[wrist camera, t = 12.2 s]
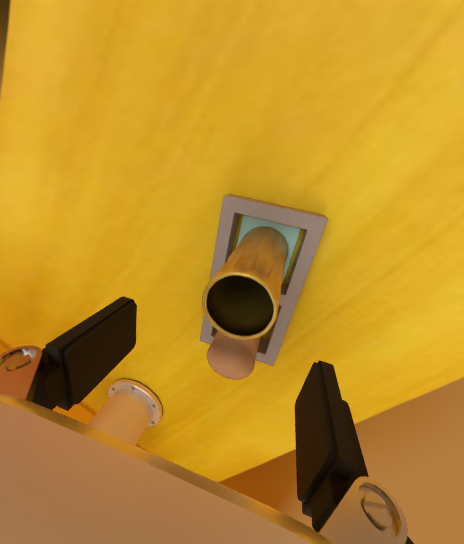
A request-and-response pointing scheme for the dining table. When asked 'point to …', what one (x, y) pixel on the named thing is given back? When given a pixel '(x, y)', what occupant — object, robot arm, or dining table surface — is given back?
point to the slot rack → (300, 268)
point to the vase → (248, 286)
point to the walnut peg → (232, 356)
